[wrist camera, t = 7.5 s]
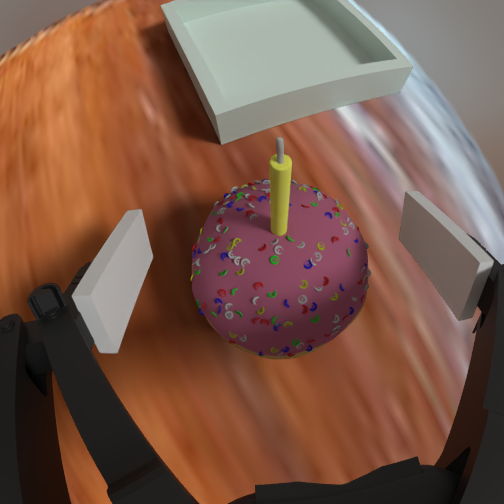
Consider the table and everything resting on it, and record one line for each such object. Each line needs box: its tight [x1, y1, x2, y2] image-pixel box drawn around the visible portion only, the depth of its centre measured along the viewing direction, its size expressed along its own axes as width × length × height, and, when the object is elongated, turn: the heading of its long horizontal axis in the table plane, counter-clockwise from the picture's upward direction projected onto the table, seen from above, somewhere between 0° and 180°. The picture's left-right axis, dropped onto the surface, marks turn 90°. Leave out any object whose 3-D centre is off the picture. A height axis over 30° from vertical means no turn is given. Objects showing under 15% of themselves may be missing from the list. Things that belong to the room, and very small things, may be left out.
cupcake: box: [190, 137, 371, 359], centre depth 14 cm, size 9×8×12 cm
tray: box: [161, 0, 413, 145], centre depth 22 cm, size 16×16×4 cm
